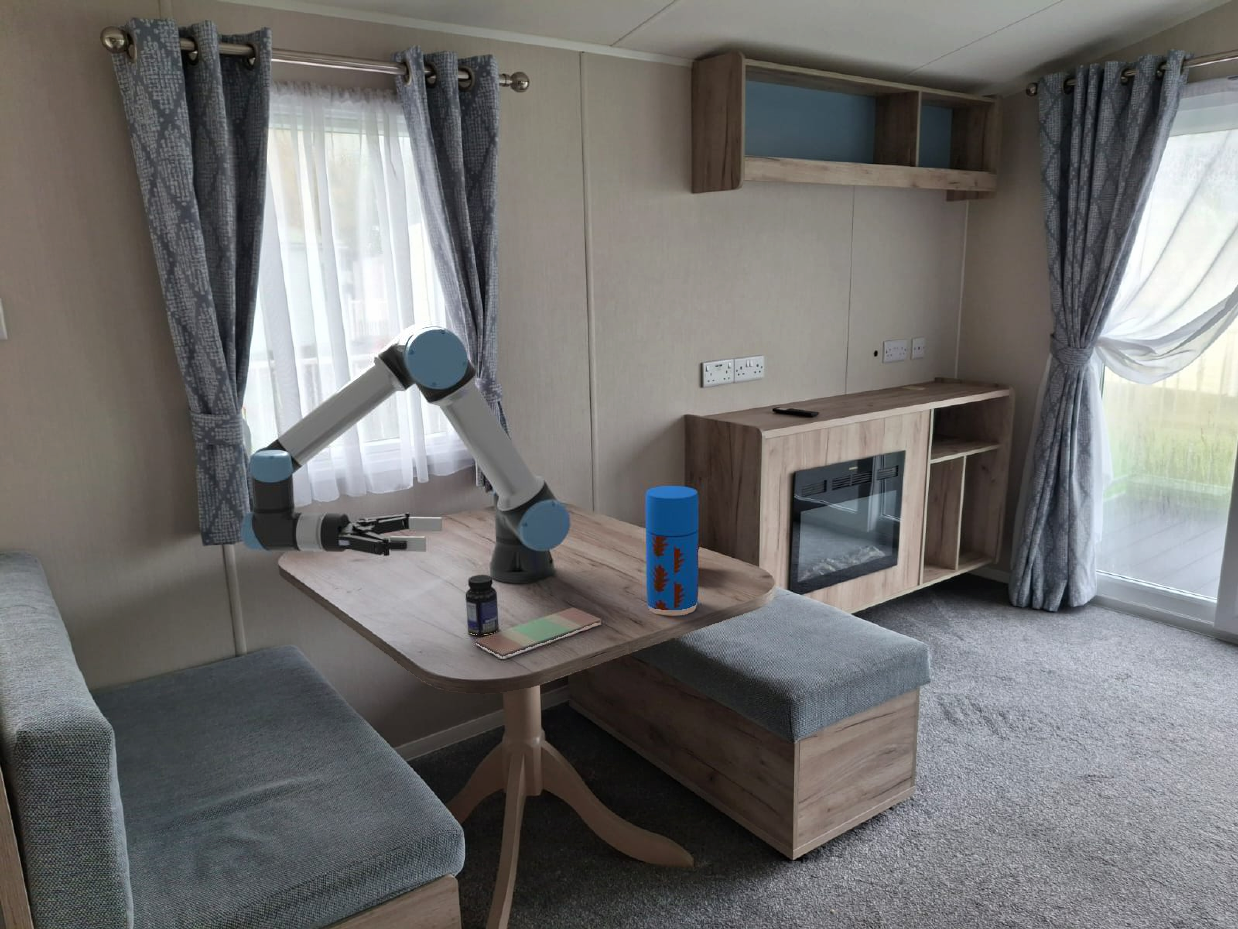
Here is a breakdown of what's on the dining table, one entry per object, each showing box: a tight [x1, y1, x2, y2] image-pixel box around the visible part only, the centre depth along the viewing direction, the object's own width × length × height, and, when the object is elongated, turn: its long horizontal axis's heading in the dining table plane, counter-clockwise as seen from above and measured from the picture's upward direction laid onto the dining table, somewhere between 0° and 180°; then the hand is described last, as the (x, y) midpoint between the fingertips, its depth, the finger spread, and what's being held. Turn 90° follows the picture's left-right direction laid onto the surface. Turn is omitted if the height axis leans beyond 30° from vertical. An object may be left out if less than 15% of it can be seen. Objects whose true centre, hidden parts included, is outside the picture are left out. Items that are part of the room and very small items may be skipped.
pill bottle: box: [465, 574, 500, 635], centre depth 178 cm, size 6×6×11 cm
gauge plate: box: [474, 606, 602, 657], centre depth 176 cm, size 9×24×1 cm, turn 132°
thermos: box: [645, 485, 699, 610], centre depth 187 cm, size 11×11×25 cm
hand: (433, 533), depth 175 cm, fingers open, 13 cm apart
